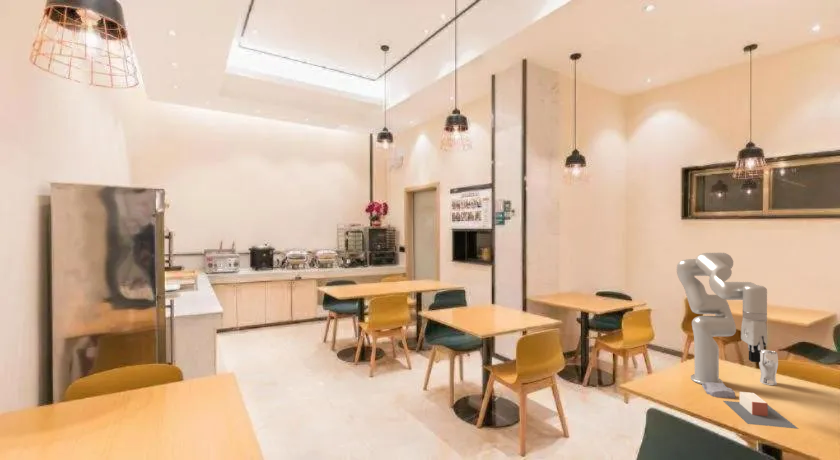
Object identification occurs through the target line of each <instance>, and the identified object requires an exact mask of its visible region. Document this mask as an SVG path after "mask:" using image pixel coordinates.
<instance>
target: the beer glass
mask: <svg viewBox="0 0 840 460" xmlns="http://www.w3.org/2000/svg"><path fill="white" fill-rule="evenodd" d="M758 366H759V371H760V378H759V382H760V383H761V384H763V385H767V386H773V385H774V386H777V385H778V383H777V378H776V377H777V370H778V367H779V357H778V352H777V351H775V350H770V349H764V351H762V350H761V353H760V362H758Z"/></svg>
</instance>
